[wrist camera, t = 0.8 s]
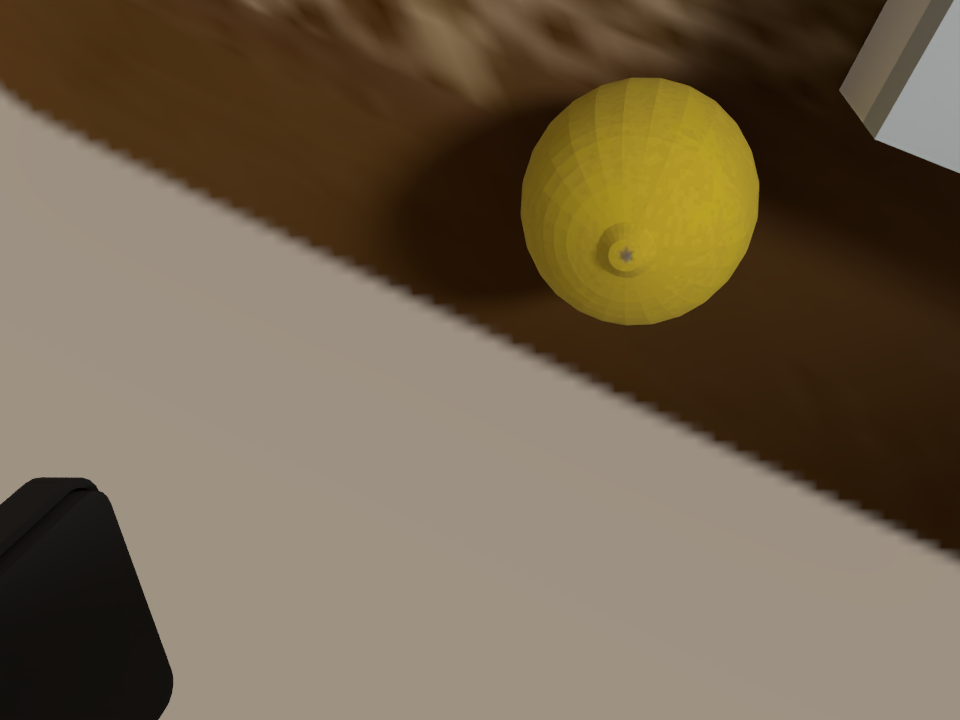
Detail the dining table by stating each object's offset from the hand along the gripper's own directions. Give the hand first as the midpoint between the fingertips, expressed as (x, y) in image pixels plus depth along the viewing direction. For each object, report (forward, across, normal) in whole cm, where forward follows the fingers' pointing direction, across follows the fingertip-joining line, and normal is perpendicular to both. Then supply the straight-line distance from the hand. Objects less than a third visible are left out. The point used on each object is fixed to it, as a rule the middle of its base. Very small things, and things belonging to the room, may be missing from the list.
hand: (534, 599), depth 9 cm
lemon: (+18, 0, 0) cm, 19 cm away
